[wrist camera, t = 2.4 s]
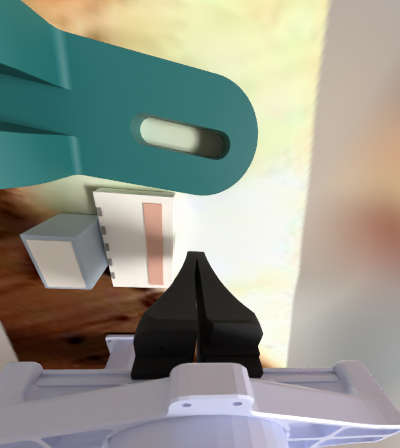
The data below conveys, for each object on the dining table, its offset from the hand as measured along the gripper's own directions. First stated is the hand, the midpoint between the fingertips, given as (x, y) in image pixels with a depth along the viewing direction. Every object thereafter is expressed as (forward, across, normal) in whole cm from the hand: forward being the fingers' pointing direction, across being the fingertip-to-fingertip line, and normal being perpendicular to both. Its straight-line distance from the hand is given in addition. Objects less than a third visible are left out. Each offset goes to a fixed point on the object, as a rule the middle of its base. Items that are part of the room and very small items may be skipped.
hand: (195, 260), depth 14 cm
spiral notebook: (+3, +5, 0) cm, 6 cm away
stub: (+3, +10, 0) cm, 10 cm away
